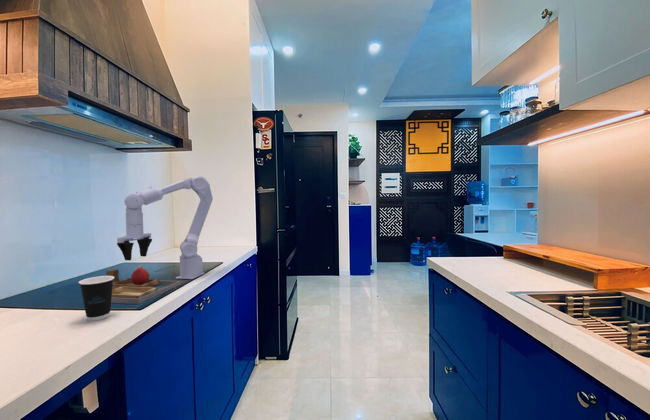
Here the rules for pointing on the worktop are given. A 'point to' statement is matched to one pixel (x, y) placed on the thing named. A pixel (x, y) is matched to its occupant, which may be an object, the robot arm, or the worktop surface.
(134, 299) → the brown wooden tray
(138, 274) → the onion
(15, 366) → the worktop surface
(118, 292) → the oak tray
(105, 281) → the dixie cup
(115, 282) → the walnut tray
